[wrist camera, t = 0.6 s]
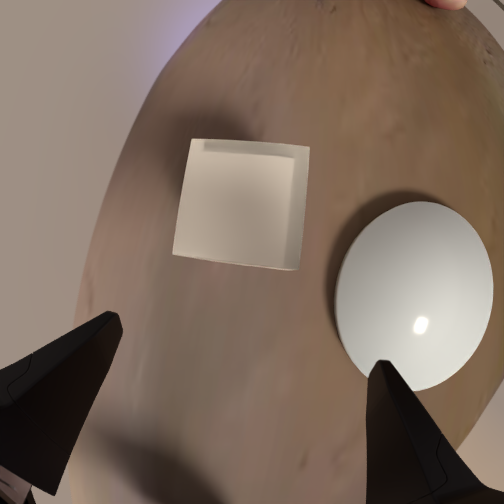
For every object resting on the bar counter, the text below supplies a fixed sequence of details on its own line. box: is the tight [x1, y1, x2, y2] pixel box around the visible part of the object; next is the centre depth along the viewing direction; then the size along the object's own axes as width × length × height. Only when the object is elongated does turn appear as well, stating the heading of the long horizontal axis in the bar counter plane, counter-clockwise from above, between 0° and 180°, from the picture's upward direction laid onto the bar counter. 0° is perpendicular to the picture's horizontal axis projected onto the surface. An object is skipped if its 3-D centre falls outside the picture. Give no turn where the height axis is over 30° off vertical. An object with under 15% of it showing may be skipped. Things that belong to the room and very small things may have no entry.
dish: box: [334, 202, 493, 391], centre depth 21 cm, size 16×16×2 cm
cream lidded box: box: [172, 139, 310, 270], centre depth 18 cm, size 6×6×10 cm
